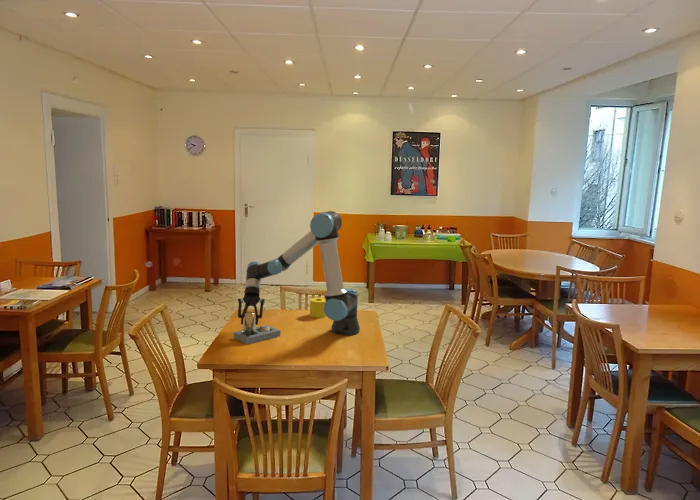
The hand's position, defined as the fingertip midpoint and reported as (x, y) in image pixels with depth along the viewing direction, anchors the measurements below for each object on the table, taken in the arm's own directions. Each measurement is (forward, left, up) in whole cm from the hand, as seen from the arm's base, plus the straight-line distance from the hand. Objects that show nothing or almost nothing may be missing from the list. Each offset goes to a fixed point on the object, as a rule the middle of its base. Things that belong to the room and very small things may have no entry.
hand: (248, 330), depth 248 cm
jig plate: (+3, -7, -6) cm, 9 cm away
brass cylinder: (+3, -3, -3) cm, 5 cm away
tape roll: (+12, -57, -6) cm, 58 cm away
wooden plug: (+3, -11, -6) cm, 13 cm away
